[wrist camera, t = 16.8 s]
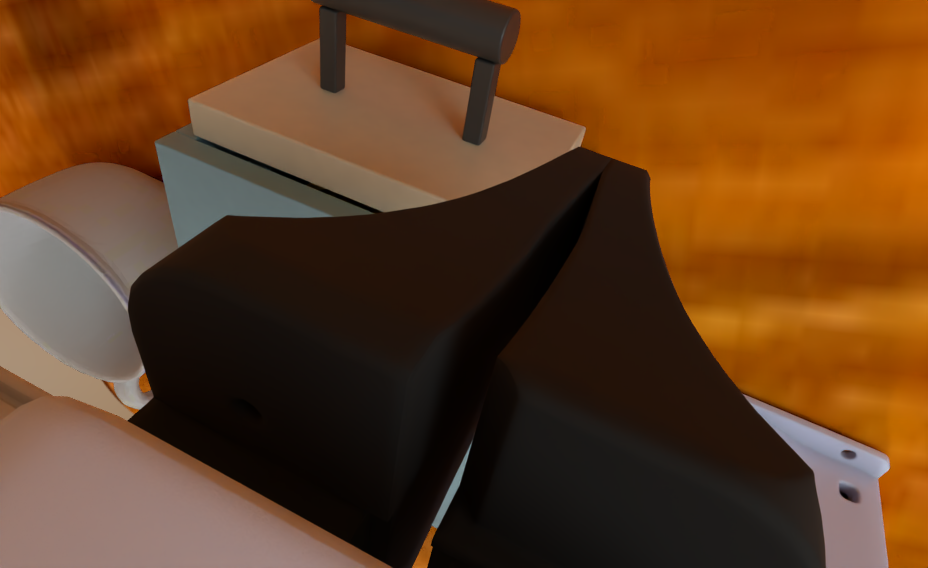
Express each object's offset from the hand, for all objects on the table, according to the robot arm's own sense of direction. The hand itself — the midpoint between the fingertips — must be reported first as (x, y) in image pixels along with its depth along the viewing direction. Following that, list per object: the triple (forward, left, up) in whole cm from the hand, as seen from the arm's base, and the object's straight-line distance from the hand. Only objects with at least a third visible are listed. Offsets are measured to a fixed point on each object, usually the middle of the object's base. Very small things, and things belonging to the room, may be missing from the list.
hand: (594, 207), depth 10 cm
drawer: (+7, +7, -9) cm, 14 cm away
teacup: (+23, +19, -11) cm, 32 cm away
